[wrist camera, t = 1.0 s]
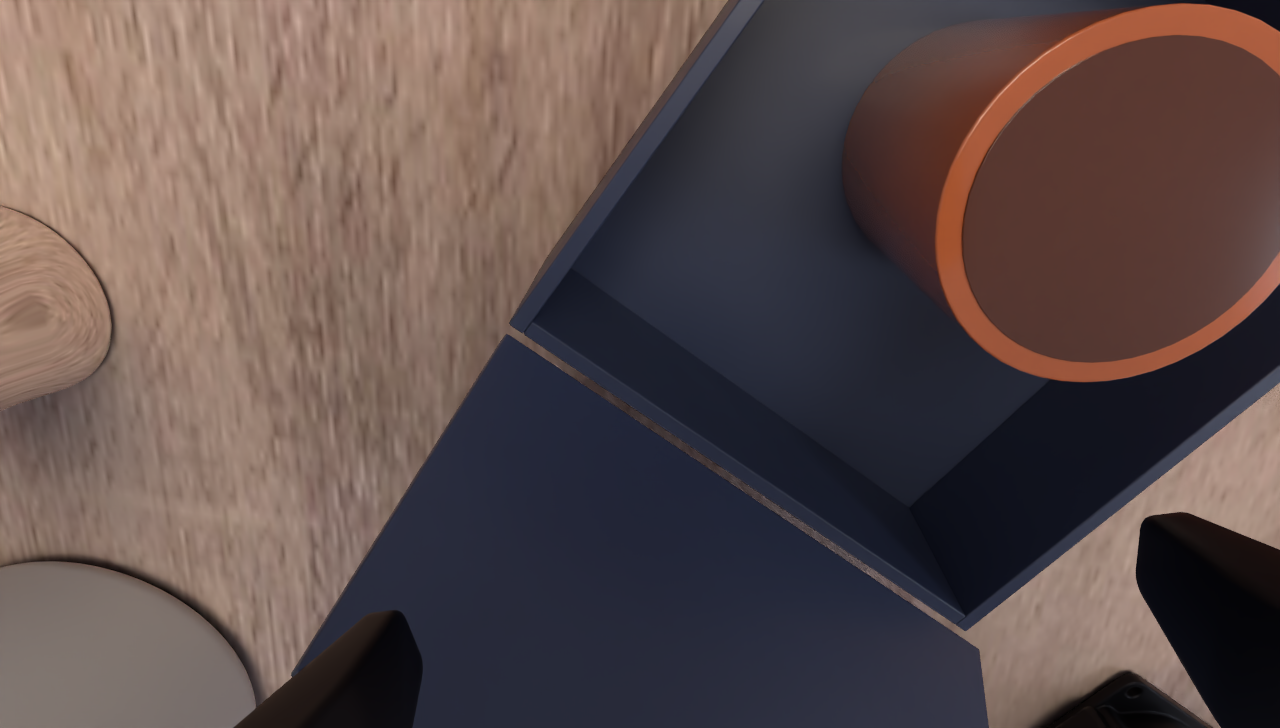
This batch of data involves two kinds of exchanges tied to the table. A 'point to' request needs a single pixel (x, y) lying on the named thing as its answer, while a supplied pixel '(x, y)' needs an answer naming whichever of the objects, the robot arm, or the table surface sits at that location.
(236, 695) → the cylinder vase
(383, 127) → the table surface
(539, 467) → the flap
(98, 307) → the beer glass
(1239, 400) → the carton
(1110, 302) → the cup
